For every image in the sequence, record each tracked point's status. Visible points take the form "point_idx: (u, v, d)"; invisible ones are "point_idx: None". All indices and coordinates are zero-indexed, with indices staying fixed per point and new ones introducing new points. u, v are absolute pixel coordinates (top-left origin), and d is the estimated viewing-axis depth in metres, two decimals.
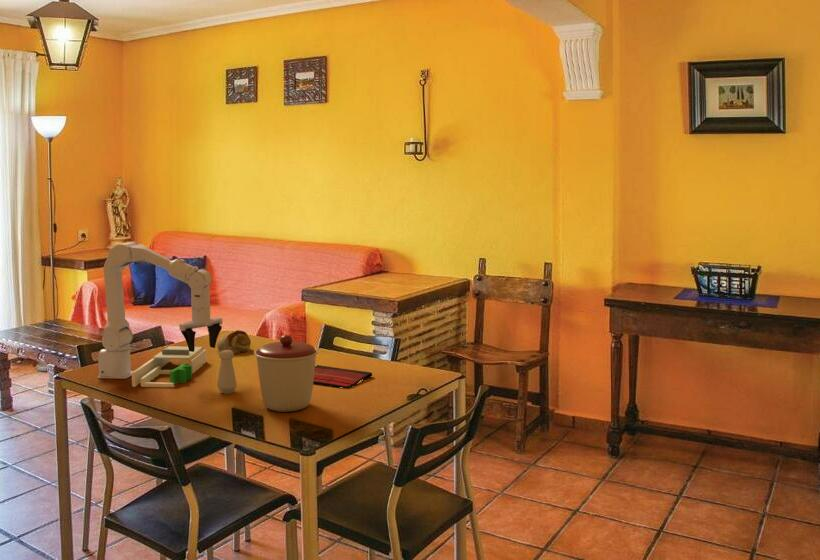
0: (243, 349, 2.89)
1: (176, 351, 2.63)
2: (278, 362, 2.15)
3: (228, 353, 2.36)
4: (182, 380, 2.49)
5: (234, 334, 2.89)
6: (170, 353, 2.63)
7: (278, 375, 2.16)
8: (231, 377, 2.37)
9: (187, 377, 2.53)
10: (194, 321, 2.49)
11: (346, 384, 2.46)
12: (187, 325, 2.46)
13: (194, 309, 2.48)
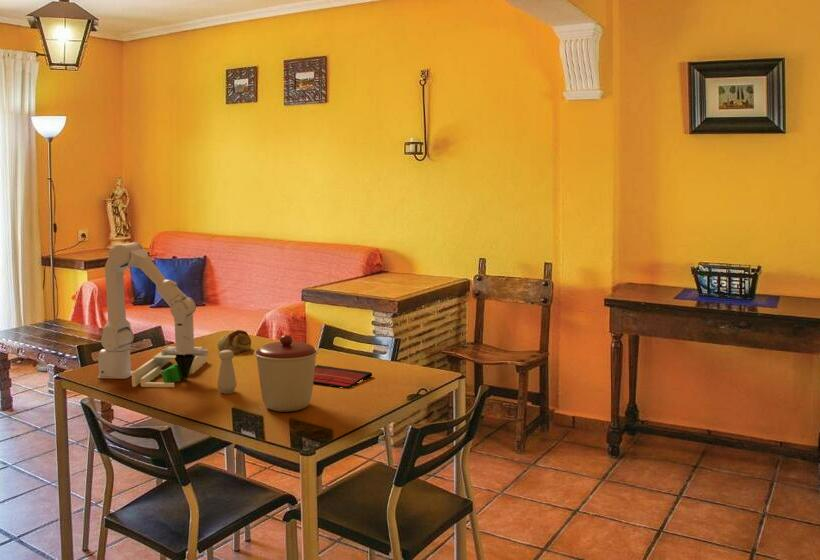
0: (244, 349, 2.90)
1: None
2: (278, 362, 2.15)
3: (228, 353, 2.36)
4: (176, 378, 2.49)
5: (235, 334, 2.89)
6: None
7: (278, 375, 2.16)
8: (231, 377, 2.37)
9: (181, 375, 2.53)
10: (175, 348, 2.50)
11: (346, 384, 2.46)
12: (166, 351, 2.49)
13: (175, 336, 2.49)
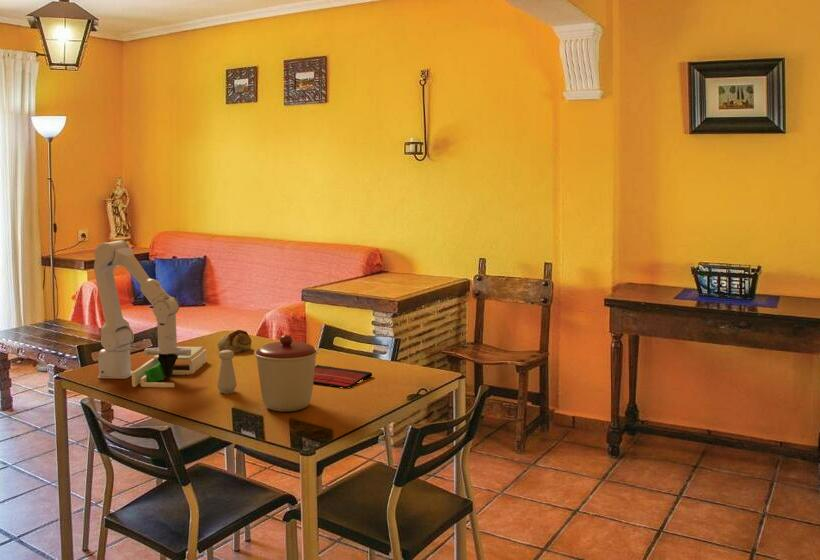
0: (244, 349, 2.90)
1: None
2: (278, 362, 2.15)
3: (228, 353, 2.36)
4: (159, 377, 2.49)
5: (235, 334, 2.90)
6: None
7: (278, 375, 2.16)
8: (231, 377, 2.37)
9: None
10: None
11: (346, 384, 2.46)
12: (148, 350, 2.49)
13: None
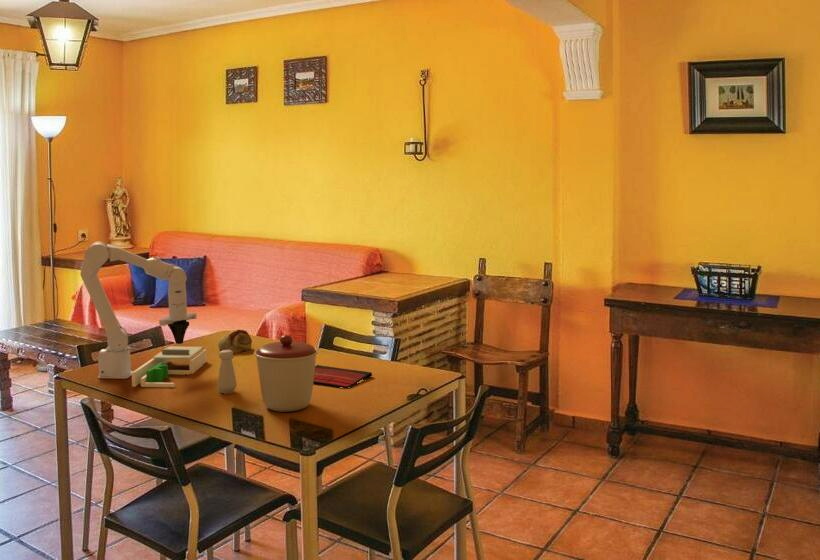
0: (244, 348, 2.90)
1: (176, 351, 2.63)
2: (278, 362, 2.15)
3: (228, 353, 2.36)
4: (158, 379, 2.49)
5: (235, 333, 2.90)
6: (170, 353, 2.63)
7: (278, 375, 2.16)
8: (231, 377, 2.37)
9: (163, 376, 2.54)
10: (172, 316, 2.58)
11: (346, 384, 2.46)
12: (167, 320, 2.55)
13: (173, 305, 2.57)
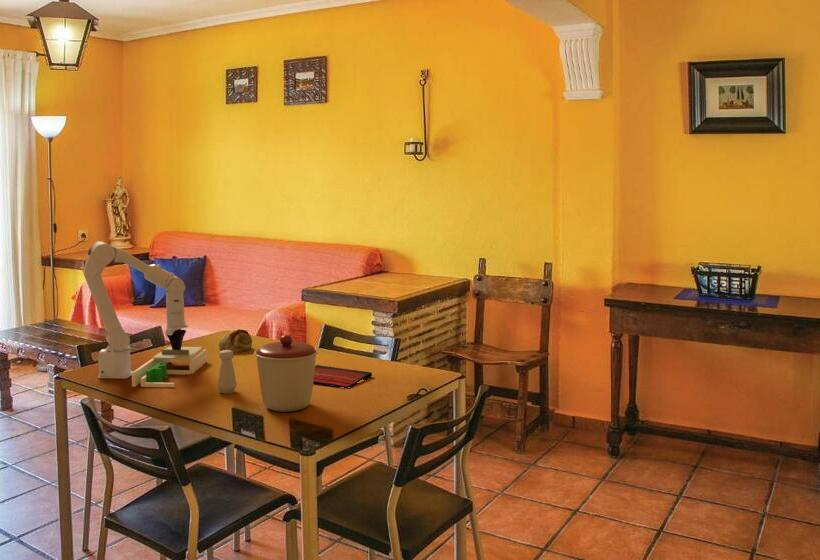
0: (245, 348, 2.91)
1: (176, 351, 2.63)
2: (278, 362, 2.15)
3: (228, 353, 2.36)
4: (158, 379, 2.50)
5: (236, 333, 2.91)
6: (170, 353, 2.63)
7: (278, 375, 2.16)
8: (231, 377, 2.37)
9: (162, 376, 2.54)
10: (174, 325, 2.60)
11: (346, 384, 2.46)
12: (173, 329, 2.58)
13: (174, 314, 2.60)
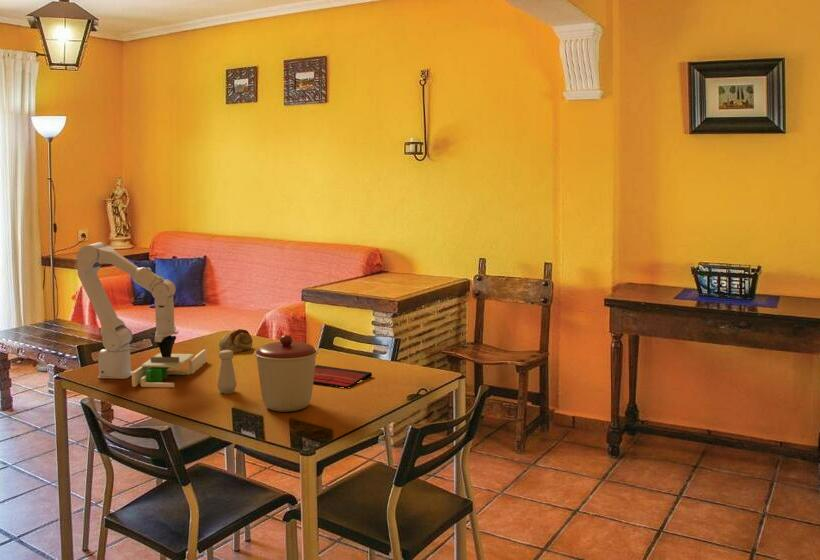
0: (245, 348, 2.91)
1: (165, 359, 2.53)
2: (278, 362, 2.15)
3: (228, 353, 2.36)
4: (158, 379, 2.50)
5: (236, 333, 2.91)
6: (159, 361, 2.53)
7: (278, 375, 2.16)
8: (231, 377, 2.37)
9: (162, 376, 2.54)
10: (164, 332, 2.50)
11: (346, 384, 2.46)
12: (163, 336, 2.48)
13: (164, 320, 2.50)
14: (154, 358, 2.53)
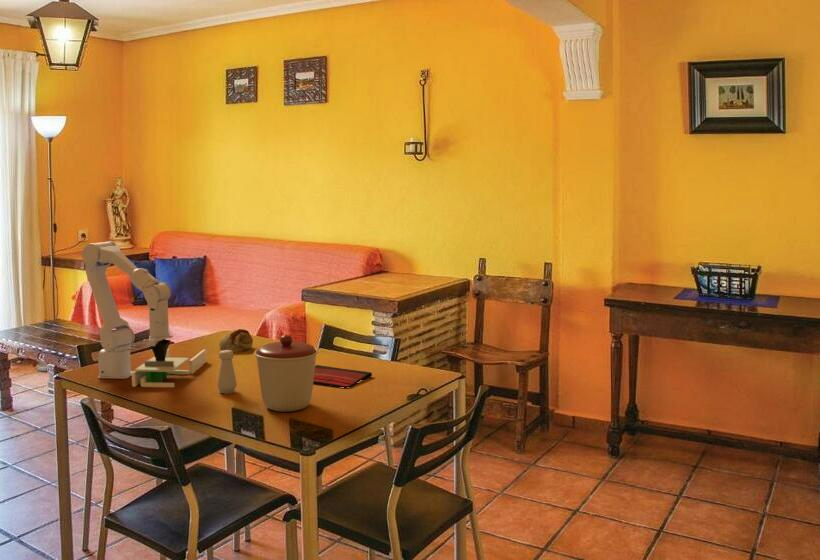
0: (246, 348, 2.91)
1: (160, 363, 2.47)
2: (278, 362, 2.15)
3: (228, 353, 2.36)
4: (158, 379, 2.50)
5: (237, 333, 2.91)
6: (153, 365, 2.48)
7: (278, 375, 2.16)
8: (231, 377, 2.37)
9: (162, 376, 2.54)
10: (158, 335, 2.45)
11: (346, 384, 2.46)
12: (156, 340, 2.42)
13: (158, 323, 2.45)
14: (148, 362, 2.48)
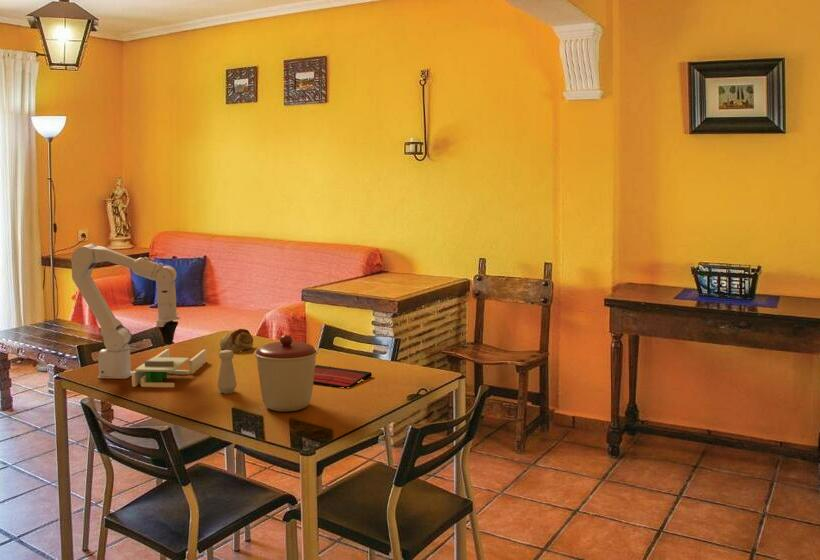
0: (246, 347, 2.92)
1: (160, 363, 2.48)
2: (278, 362, 2.15)
3: (228, 353, 2.36)
4: (158, 379, 2.50)
5: (237, 333, 2.92)
6: (153, 365, 2.48)
7: (278, 375, 2.16)
8: (231, 377, 2.37)
9: (162, 376, 2.54)
10: (166, 317, 2.52)
11: (346, 384, 2.46)
12: (165, 321, 2.49)
13: (166, 305, 2.52)
14: (148, 362, 2.48)
